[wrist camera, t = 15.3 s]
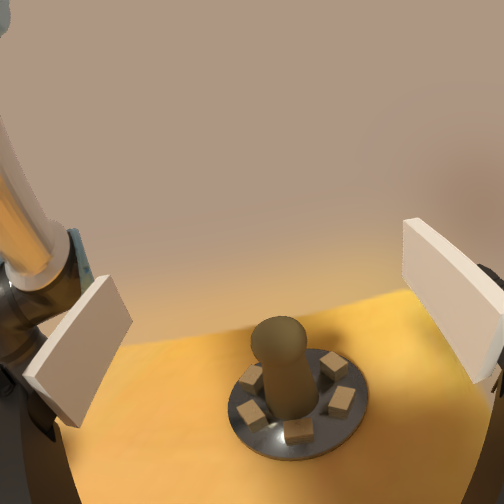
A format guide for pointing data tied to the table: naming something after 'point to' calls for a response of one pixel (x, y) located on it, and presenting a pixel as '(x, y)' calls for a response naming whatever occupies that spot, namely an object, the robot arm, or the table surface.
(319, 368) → the ring holder
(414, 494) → the table surface
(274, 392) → the cork
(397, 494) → the table surface
